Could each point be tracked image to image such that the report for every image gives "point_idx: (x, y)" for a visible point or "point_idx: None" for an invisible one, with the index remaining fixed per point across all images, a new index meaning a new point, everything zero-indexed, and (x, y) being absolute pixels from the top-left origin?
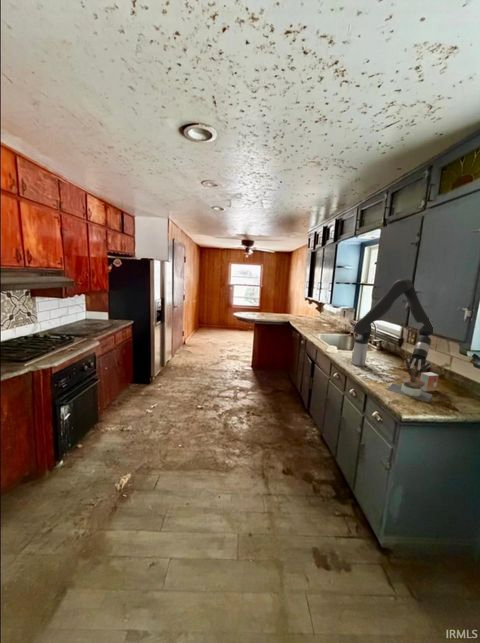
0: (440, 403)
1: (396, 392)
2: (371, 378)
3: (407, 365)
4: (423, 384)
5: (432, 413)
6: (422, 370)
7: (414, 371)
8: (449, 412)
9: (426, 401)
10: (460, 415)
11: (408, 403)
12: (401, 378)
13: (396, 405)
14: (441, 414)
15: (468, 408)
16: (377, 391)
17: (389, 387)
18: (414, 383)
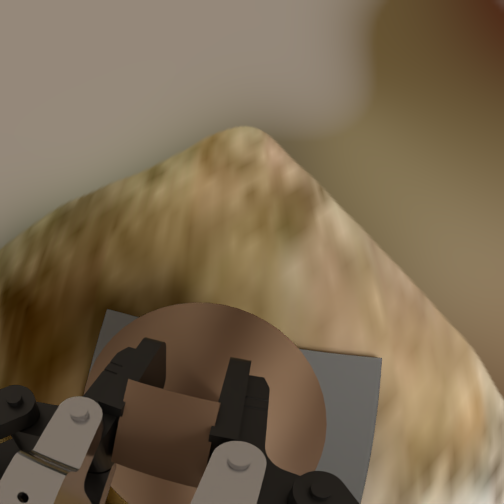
0: (47, 345)
1: (313, 357)
2: (474, 497)
3: (337, 498)
4: (96, 365)
5: (121, 186)
6: (27, 397)
7: (168, 390)
8: (42, 244)
9: (116, 312)
10: (14, 241)
11: (225, 231)
12: (325, 427)
13: (283, 174)
14: (84, 200)
15: None
16: (413, 301)
17: (370, 424)
18: (181, 344)
